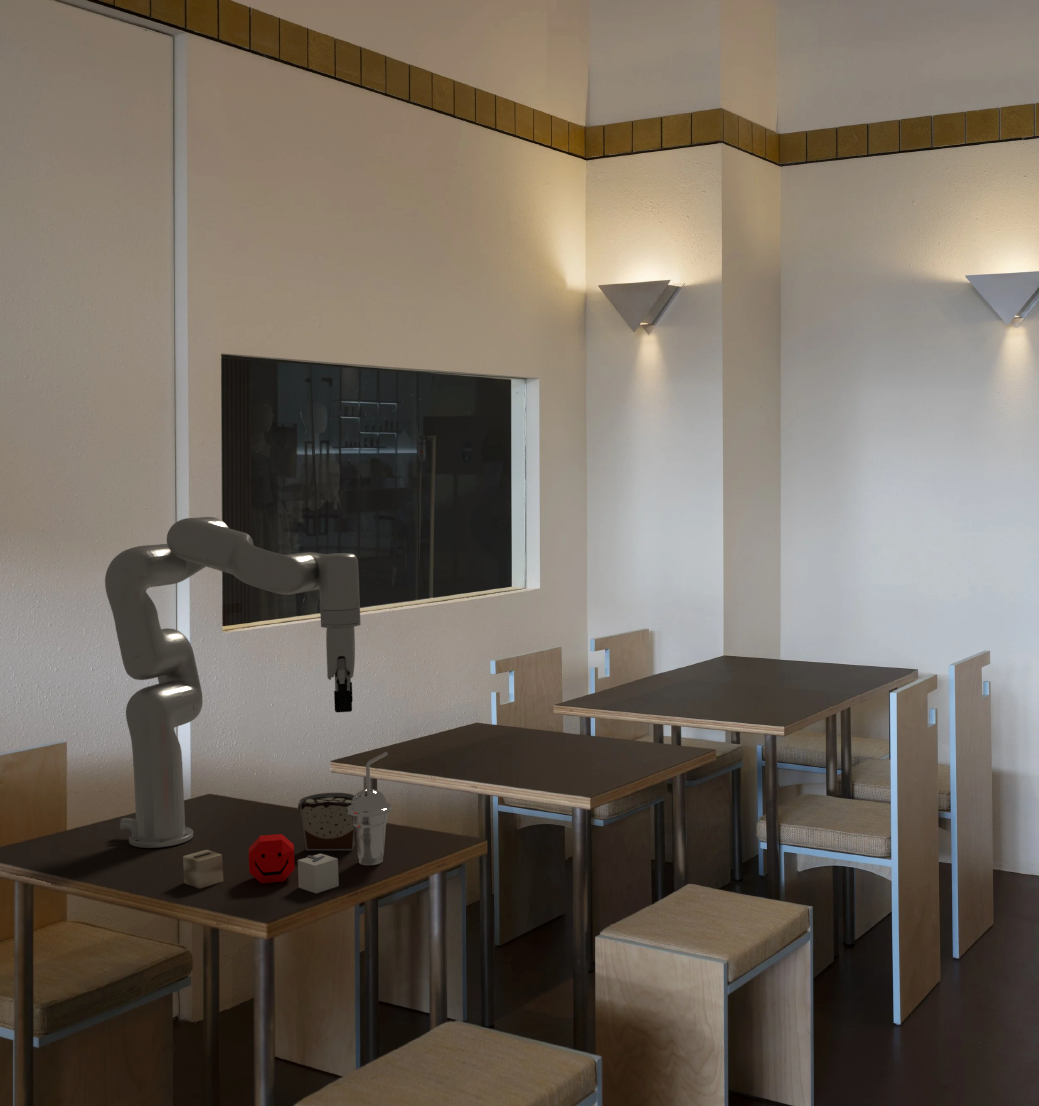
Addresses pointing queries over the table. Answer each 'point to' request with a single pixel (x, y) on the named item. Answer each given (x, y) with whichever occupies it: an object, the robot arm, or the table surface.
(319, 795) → the food container
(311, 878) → the off-white block numbered 7
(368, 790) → the cup with straw
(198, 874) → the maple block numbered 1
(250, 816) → the table surface
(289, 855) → the ball
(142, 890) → the table surface
